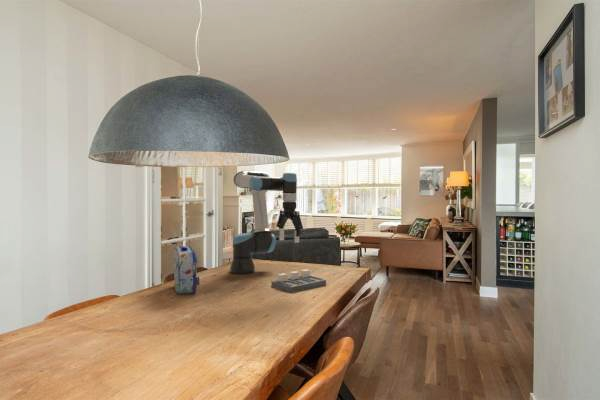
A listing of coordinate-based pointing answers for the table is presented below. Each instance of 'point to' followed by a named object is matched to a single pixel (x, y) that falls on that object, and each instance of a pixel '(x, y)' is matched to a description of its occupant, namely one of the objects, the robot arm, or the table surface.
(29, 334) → the table surface
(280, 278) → the switch
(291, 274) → the switch middle
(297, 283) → the switch panel
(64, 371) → the table surface
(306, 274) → the switch
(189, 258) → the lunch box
